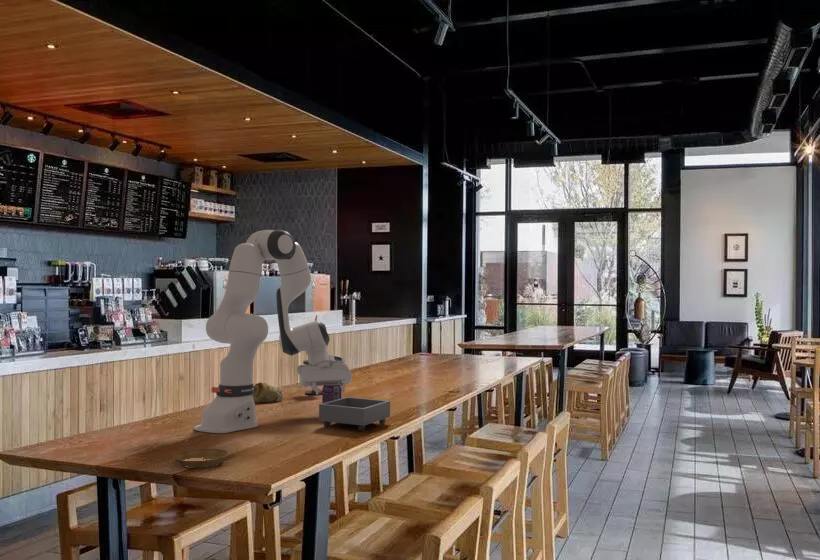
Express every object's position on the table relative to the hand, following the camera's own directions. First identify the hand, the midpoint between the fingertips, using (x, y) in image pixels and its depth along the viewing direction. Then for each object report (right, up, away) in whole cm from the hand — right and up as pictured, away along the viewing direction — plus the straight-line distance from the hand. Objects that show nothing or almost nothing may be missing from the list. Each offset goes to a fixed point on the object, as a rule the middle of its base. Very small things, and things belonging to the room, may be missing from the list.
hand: (331, 392), depth 279 cm
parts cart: (+10, -9, -18) cm, 23 cm away
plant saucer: (-29, -9, -71) cm, 77 cm away
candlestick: (-12, -8, +51) cm, 53 cm away
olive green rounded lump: (-31, -8, +32) cm, 45 cm away
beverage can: (0, -9, -1) cm, 9 cm away
